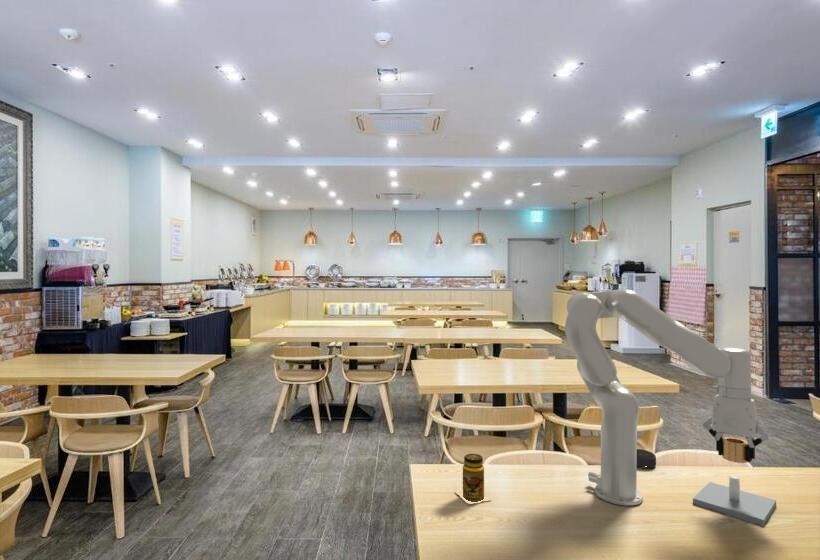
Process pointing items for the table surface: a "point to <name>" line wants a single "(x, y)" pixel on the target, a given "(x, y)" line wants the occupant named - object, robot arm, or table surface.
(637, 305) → the robot arm
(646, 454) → the smart speaker
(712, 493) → the peg stand
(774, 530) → the table surface
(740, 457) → the ring
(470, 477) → the condiment
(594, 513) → the table surface
